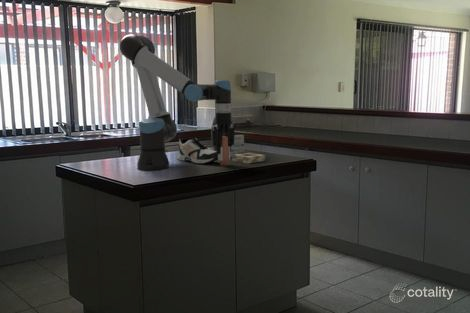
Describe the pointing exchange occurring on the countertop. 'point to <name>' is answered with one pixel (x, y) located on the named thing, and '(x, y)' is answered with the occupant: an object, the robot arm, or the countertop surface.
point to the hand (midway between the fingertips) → (224, 159)
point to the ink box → (237, 145)
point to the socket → (248, 157)
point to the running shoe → (195, 152)
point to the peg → (224, 151)
